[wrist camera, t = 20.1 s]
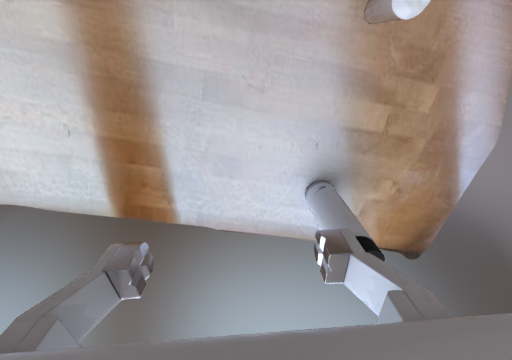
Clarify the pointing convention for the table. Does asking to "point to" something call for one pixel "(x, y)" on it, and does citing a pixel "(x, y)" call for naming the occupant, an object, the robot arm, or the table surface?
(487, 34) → the table surface
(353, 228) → the travel mug
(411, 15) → the milkshake
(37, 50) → the table surface
